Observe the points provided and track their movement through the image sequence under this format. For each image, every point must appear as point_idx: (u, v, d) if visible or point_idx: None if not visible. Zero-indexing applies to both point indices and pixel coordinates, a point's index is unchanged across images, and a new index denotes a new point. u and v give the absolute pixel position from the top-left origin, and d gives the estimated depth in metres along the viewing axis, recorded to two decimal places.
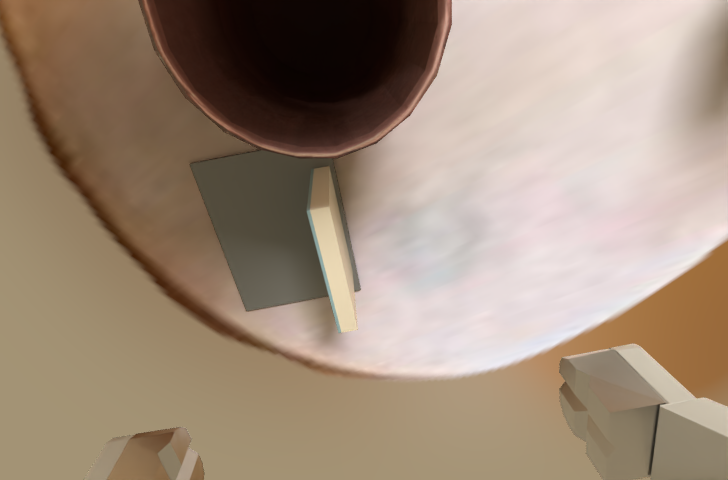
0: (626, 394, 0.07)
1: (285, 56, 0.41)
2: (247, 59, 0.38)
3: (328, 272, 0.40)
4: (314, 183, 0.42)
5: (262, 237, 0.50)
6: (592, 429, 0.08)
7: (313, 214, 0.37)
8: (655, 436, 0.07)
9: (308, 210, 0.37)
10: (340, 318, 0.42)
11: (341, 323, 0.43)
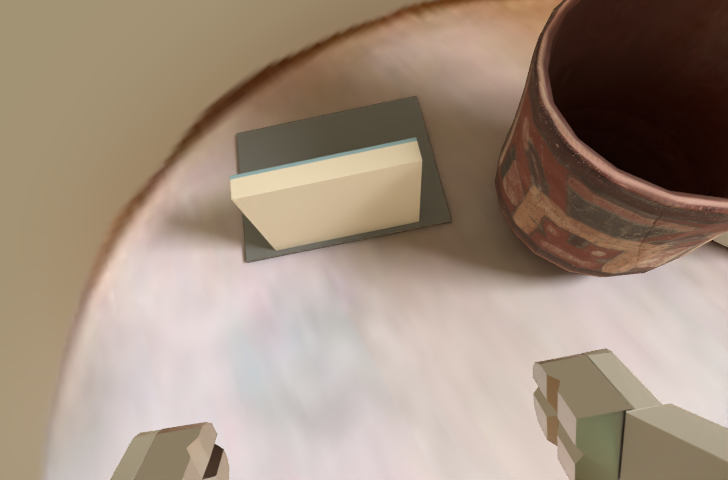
0: (594, 400, 0.07)
1: None
2: None
3: (329, 161, 0.31)
4: None
5: (332, 152, 0.44)
6: (562, 434, 0.08)
7: (411, 144, 0.31)
8: (623, 442, 0.07)
9: (416, 139, 0.31)
10: (254, 177, 0.31)
11: (245, 179, 0.31)
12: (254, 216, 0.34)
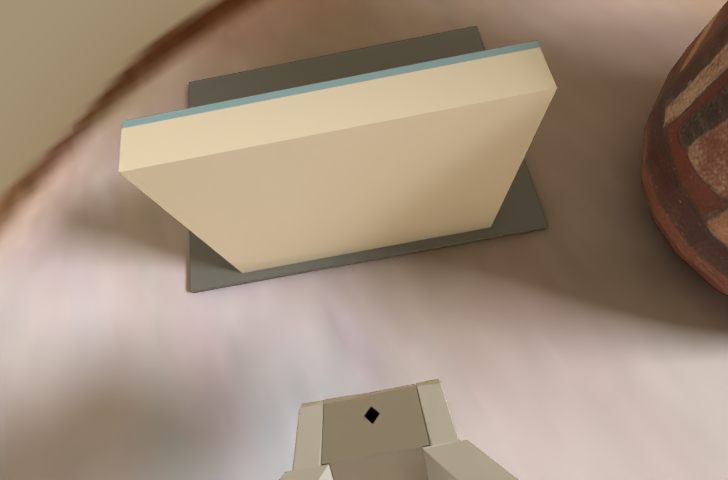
0: (400, 434, 0.07)
1: None
2: None
3: (341, 91, 0.14)
4: None
5: None
6: None
7: (528, 54, 0.14)
8: (428, 477, 0.07)
9: (537, 46, 0.14)
10: (174, 124, 0.14)
11: (155, 127, 0.14)
12: (185, 212, 0.16)
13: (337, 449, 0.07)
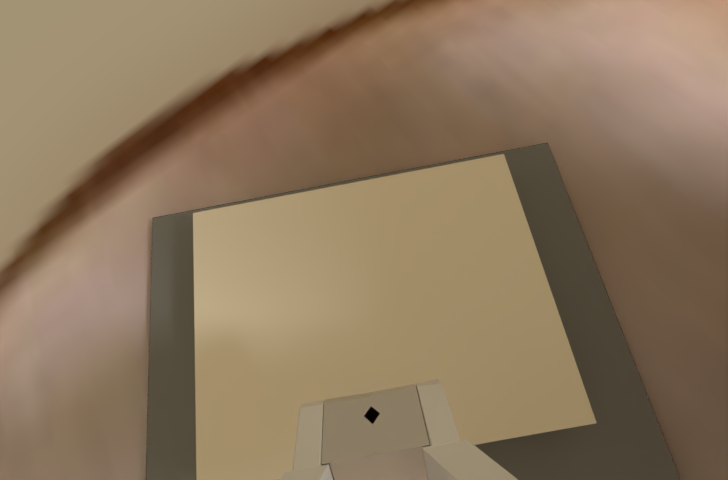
0: (400, 434, 0.07)
1: None
2: None
3: None
4: None
5: None
6: None
7: None
8: (428, 477, 0.07)
9: None
10: None
11: None
12: (207, 279, 0.18)
13: (337, 449, 0.07)
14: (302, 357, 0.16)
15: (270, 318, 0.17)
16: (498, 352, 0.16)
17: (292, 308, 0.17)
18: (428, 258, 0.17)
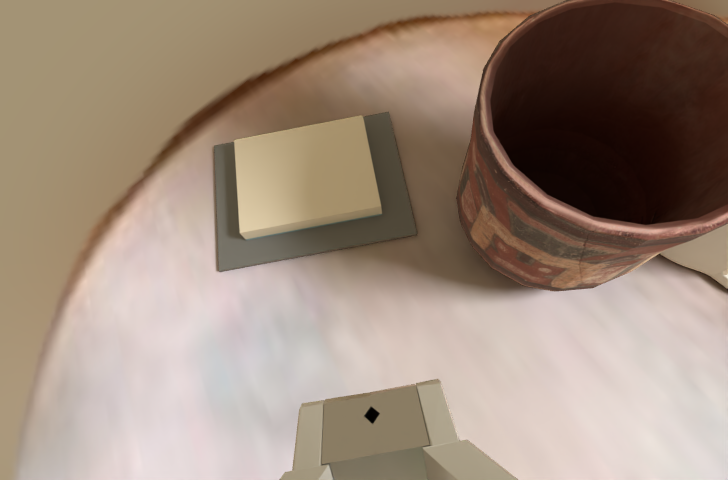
0: (400, 434, 0.07)
1: None
2: None
3: None
4: None
5: None
6: None
7: None
8: (428, 476, 0.07)
9: None
10: None
11: None
12: (241, 164, 0.44)
13: (337, 449, 0.07)
14: (278, 189, 0.43)
15: (266, 177, 0.43)
16: (350, 185, 0.42)
17: (274, 173, 0.43)
18: (328, 154, 0.44)
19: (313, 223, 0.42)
